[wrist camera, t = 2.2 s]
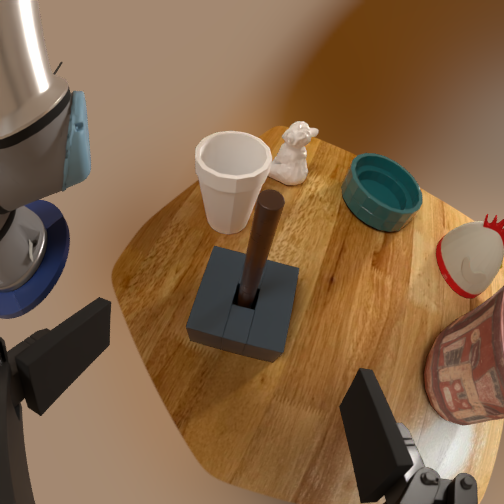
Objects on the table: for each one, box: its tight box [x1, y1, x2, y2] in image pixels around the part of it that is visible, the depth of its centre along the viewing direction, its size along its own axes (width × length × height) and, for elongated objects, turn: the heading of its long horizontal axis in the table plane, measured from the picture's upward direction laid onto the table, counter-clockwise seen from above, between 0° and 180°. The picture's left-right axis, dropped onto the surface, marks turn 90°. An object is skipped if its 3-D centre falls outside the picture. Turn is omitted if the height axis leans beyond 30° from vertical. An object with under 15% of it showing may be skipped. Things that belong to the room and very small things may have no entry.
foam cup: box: [195, 131, 272, 234], centre depth 40 cm, size 10×9×13 cm
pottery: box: [424, 286, 504, 425], centre depth 27 cm, size 18×18×18 cm
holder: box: [186, 246, 299, 363], centre depth 35 cm, size 11×11×6 cm
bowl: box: [341, 153, 422, 232], centre depth 49 cm, size 15×15×6 cm
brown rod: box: [236, 190, 285, 309], centre depth 28 cm, size 2×2×22 cm
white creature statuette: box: [268, 121, 318, 185], centre depth 47 cm, size 10×9×12 cm
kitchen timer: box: [436, 214, 504, 298], centre depth 40 cm, size 14×14×15 cm
